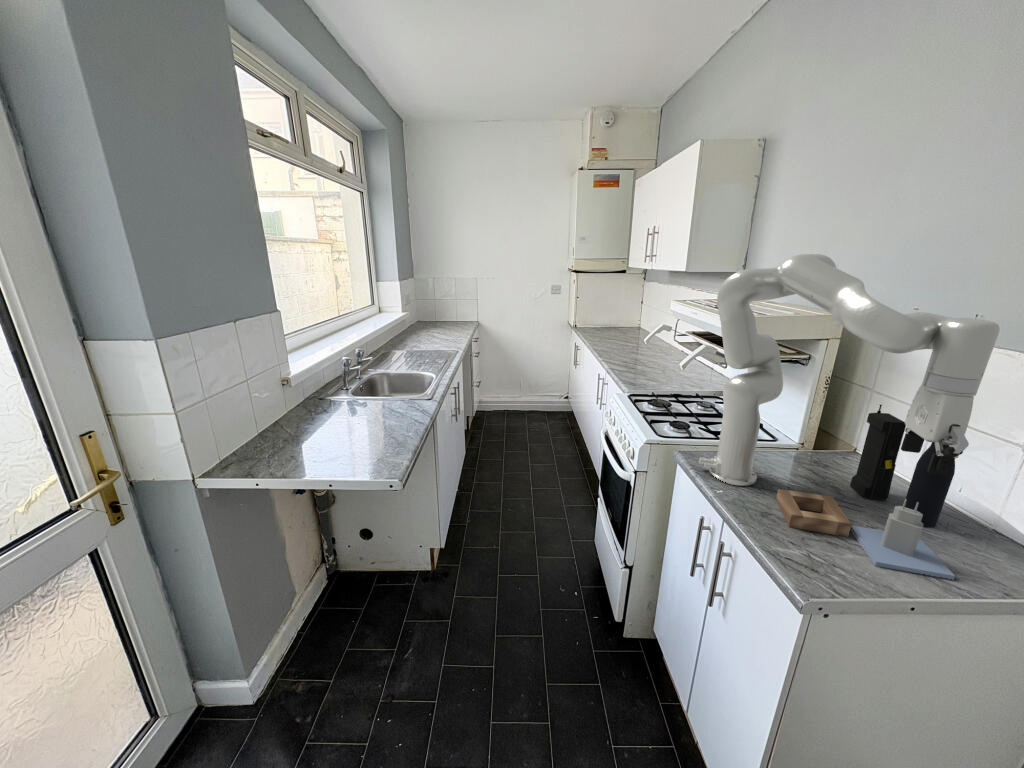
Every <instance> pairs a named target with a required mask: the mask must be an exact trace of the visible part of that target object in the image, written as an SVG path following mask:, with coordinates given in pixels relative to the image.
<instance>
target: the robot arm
mask: <svg viewBox="0 0 1024 768" xmlns="http://www.w3.org/2000/svg"><path fill="white" fill-rule="evenodd" d="M794 295H797V296H799V297H801V298H803V299H804V300H807V301H808V302H811V303H812V304H814V305H815V306H817V307H819V308H821V309H822V310H824V311H826V312H828V313H829V314H831V315H832V317H833V318H834V319H835V321H837V322H838V323H839V324H840V325H841V326H842V327H843V328H844V329H846V330H847V331H848V332H850V333H851V334H853V335H854V336H856V337H858V338H859V339H861V340H863V341H865V342H866V343H868V344H870V345H872V346H874V347H875V348H877V349H879V350H882V351H884V352H888V353H891V354H897V355H899V354H908V353H911V352H914V351H921V350H932V352H931V354H930V358H929V360H928V363H927V364H928V365H927V367H926V370H925V374H924V375H923V380H922V383H921V384H920V386H919V387H918V389H917V391H916V393H915V395H914V396H913V399H912V402H911V404H910V407H909V409H908V410H907V414H906V417H905V420H904V422H905V425H906V427H905V431H904V436H903V439H902V440H903V441H902V442H901V445H900V450H901V451H902V452H906V453H907V452H909V453H915V454H916V453H917V454H919V453H921V450H922V447H923V445H924V442H925V441H926V442H928V443H932V442H935V448H936V454H933V455H932V458H931V461H930V463H929V466H928V469H927V471H928V472H929V473H933V474H941V475H949V474H950V471H951V469H952V466H953V463H954V460H955V461H956V459H958V458H959V457H960V455H962V454H963V453H964V451H965V450H966V449H967V447H969V444H970V443H969V441H968V439H967V437H966V435H965V434H966V432H967V428H968V426H969V422H970V420H971V415H972V413H973V412H972V411H973V405H974V397H975V396H977V394H978V390H979V388H980V385H981V383H982V380H983V377H984V375H985V372H986V369H987V366H988V364H989V361H990V358H991V355H992V353H993V350H994V347H995V345H996V342H997V339H998V337H999V334H1000V331H1001V330H1000V326H999V324H998V323H996V322H995V321H991V320H986V319H980V318H978V319H977V318H971V317H970V318H965V317H951V316H944V315H940V314H935V313H931V312H920V311H919V312H912V313H905V314H904V313H901V312H899V311H898V310H895V309H893V308H891V307H889V306H888V305H885V304H883V303H881V302H880V301H878V300H876V299H875V298H873V297H872V296H871V295H869V293H867V291H866V289H865V283H864V282H863V280H862V279H860V278H858V277H856V276H853V275H851V274H849V273H847V272H845V271H843V270H841V269H839V268H837V266H836V263H835V262H834V260H833V259H832V258H831V257H829V256H827V255H825V254H818V253H813V254H812V253H811V254H807V253H805V254H803V253H802V254H797V255H794V256H791V257H789V258H787V259H786V260H784V261H783V263H781V265H779V266H775V267H772V268H771V267H770V268H769V267H768V268H747V269H743V270H739V271H737V272H734V273H733V274H731V275H730V276H728V277H727V278H726V279H725V280H723V282H722V284H721V285H720V287H719V289H718V293H717V297H716V298H717V299H716V303H717V305H716V306H717V312H718V315H719V319H720V328H721V336H722V345H723V354H724V359H725V361H726V364H727V365H728V367H730V368H732V369H734V370H744V369H746V370H747V372H745V373H740V374H737V375H734V376H733V377H731V378H730V379H729V380H727V382H726V383H725V385H724V387H723V391H722V398H723V399H722V400H723V411H722V412H723V414H722V422H721V427H720V428H721V429H720V434H719V439H718V440H719V441H718V449H717V455H714V457H711V458H707V457H702V456H701V457H699V461H698V464H699V465H703V467H704V468H708V470H709V471H708V472H709V473H711V474H712V475H713V476H714V477H713V476H712V475H711V474H710V475H711V476H712V477H713V478H715V477H716V478H717V479H716V478H715V479H716V480H718V479H719V480H718V481H720V480H721V481H720V482H722V481H723V483H725V482H726V483H725V484H729V485H732V486H740V487H743V486H751V485H754V484H755V483H756V482H757V479H758V475H757V474H756V473H755V472H754V470H753V466H754V460H755V454H756V449H757V445H758V437H759V432H760V425H761V414H760V410H759V408H760V406H761V405H763V404H766V403H769V402H772V401H774V400H776V399H777V398H779V397H780V395H781V394H782V392H783V388H784V378H783V377H784V376H783V370H782V360H781V353H780V347H779V344H778V342H777V341H776V339H775V338H773V337H772V336H771V335H770V334H768V333H766V332H758V331H757V321H756V316H755V314H754V312H753V310H752V308H751V306H750V303H752V302H760V301H770V300H775V299H781V298H784V297H789V296H794ZM941 439H945V440H941ZM943 445H949V447H947V448H945V449H943Z"/></svg>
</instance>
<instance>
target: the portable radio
mask: <svg viewBox="0 0 1024 768" xmlns="http://www.w3.org/2000/svg"><path fill="white" fill-rule="evenodd" d="M882 406H883V404H879V407H878V410H877V411H876V412H870V413H868V416H867V419H866V422H867V423H868V425H869V426H868V429H867V431H866V437H865V440H864V445H863V448H862V452H861V455H860V459H859V462H858V463H859V464H858V466H857V471H856V474H855V475H853V476H852V478H851V480H850V481H851V482H850V485H849V486H850V488H851V489H853V491H854V492H856V493H857V494H858V495H859V496H860V498H863V499H869V500H876V501H887V500H888V499H889V497H890V491H891V487H892V482H893V478H894V473H895V469H896V466H897V465H896V462H897V459H898V456H899V451H900V450H901V446H902V443H903V441H902V440H903V439H904V436H905V429H906V427H907V426H906V425H905V420H904V421H903V420H902V419H899V418H898V417H896V416H894V415H892V414H891V413H889V412H888V413H887V412H882V410H881V409H882Z"/></svg>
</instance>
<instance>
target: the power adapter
mask: <svg viewBox="0 0 1024 768" xmlns="http://www.w3.org/2000/svg"><path fill="white" fill-rule="evenodd" d="M906 501H907V499H906V498H905V499H904V501H903V504H902V505H896V506H894V510H893V512H888V513H889V514H888V517H887V521H886V523H885V527H884V530H883V531H884V533H883V537H882V540H881V545H882V546H883V547H886V548H888V549H891V550H894V551H897V552H899V553H902V554H905V555H908V556H914V553H915V550H916V547H917V544H918V541H919V538H920V539H921V535H922V531H923V529H924V527H923V523H922V522H921V519H922V516H923V514H921V513H920V512H918V511H916V510H917V507H918V504H919V503H918V502H917V504H916V506H915V510H912V509H909V508H906V507H905V504H906Z"/></svg>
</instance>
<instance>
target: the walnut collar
mask: <svg viewBox="0 0 1024 768" xmlns="http://www.w3.org/2000/svg"><path fill="white" fill-rule="evenodd" d="M775 501H776V503H777V506H778V507H779V510H780V511H781V513H782V515H783V518H784V520H785V522H786V524H787V526H788V527H789V528H794V529H798V530H799V529H800V530H807V531H813V532H818V533H824V534H829V535H836V536H842V537H848V538H849V534H850V532H851V531H850V527H851V526H852V522H851V521H850V520H849V519H848V516H847V515H846V514H845V513H844V511H843V510H842V509H841V507H840V506H839V505H838V504H837V502H836V501H835V499H834V498H833V496H831V495H826V494H825V495H823V494H817V493H809V492H802V491H797V490H788V489H783V488H781V489H780V488H778V489H777V493H776V497H775ZM806 510H807V511H806ZM812 511H814V512H812ZM818 512H819V513H818Z"/></svg>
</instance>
